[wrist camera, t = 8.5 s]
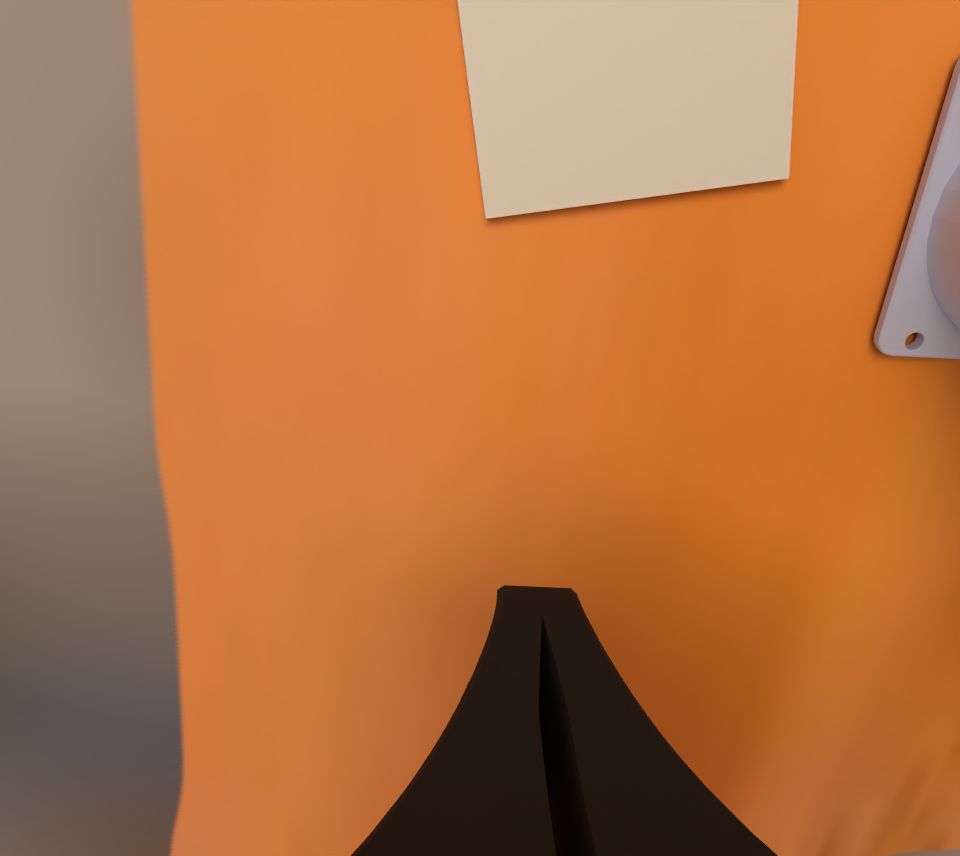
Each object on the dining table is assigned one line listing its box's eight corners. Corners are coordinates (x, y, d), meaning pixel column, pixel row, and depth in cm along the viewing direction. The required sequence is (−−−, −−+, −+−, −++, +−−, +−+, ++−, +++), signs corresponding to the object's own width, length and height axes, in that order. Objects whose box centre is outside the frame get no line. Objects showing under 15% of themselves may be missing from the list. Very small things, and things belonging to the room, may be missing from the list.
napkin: (796, -96, 17) (803, -100, 16) (782, 175, 19) (788, 178, 19) (453, -39, 17) (451, -42, 17) (485, 215, 20) (485, 218, 20)
